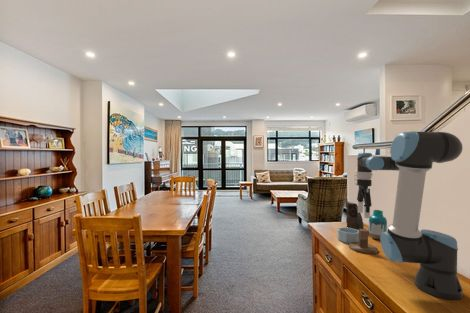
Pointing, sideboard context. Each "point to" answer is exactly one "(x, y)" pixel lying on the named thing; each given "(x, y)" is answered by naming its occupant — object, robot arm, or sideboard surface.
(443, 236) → the robot arm
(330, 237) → the sideboard surface
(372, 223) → the vase
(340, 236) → the bowl
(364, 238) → the lid
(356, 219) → the owl
